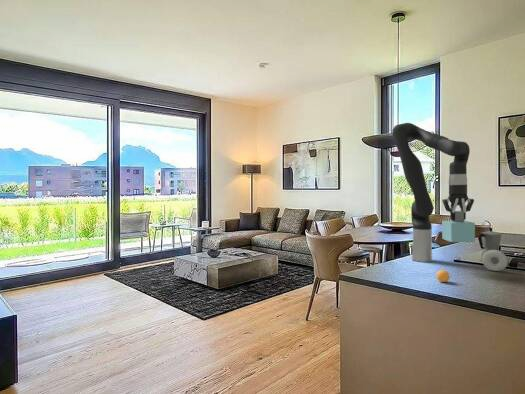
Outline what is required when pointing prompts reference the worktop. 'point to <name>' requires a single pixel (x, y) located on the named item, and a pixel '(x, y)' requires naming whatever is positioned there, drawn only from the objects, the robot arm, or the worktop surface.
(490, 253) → the donut
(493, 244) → the coffeepot
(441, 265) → the worktop surface
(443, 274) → the ball
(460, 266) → the worktop surface
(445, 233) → the mint green box
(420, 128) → the robot arm
